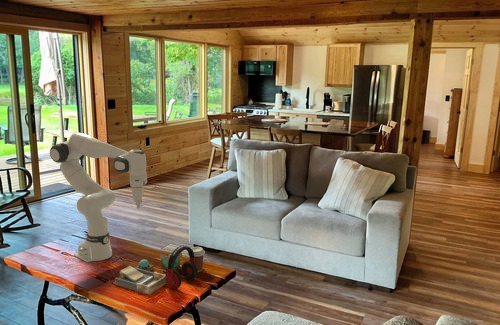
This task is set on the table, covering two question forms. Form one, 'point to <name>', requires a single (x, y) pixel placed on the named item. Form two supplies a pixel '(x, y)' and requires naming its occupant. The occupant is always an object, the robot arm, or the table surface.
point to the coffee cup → (198, 257)
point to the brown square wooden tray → (146, 268)
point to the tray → (152, 284)
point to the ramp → (131, 273)
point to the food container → (166, 259)
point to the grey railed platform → (133, 285)
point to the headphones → (187, 268)
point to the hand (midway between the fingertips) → (139, 205)
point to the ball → (143, 264)
